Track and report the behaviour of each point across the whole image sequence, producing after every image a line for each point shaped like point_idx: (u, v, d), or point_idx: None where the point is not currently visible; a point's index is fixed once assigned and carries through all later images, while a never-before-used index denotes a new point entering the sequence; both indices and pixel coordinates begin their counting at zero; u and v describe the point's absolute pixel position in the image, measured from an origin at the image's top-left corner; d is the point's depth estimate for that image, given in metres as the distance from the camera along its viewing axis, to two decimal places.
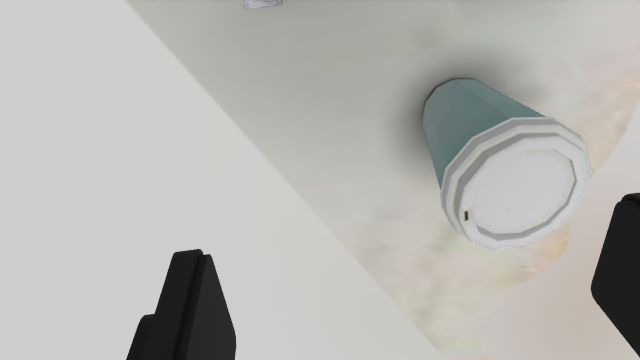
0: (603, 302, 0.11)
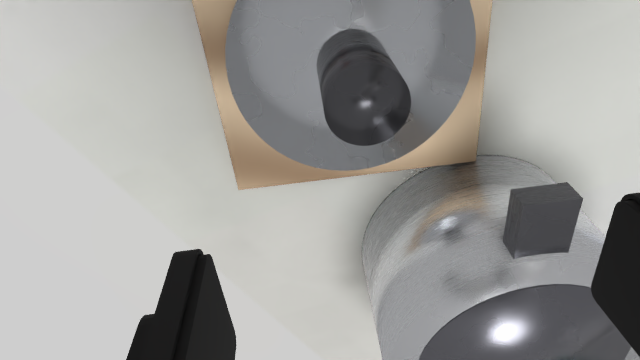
0: (603, 302, 0.11)
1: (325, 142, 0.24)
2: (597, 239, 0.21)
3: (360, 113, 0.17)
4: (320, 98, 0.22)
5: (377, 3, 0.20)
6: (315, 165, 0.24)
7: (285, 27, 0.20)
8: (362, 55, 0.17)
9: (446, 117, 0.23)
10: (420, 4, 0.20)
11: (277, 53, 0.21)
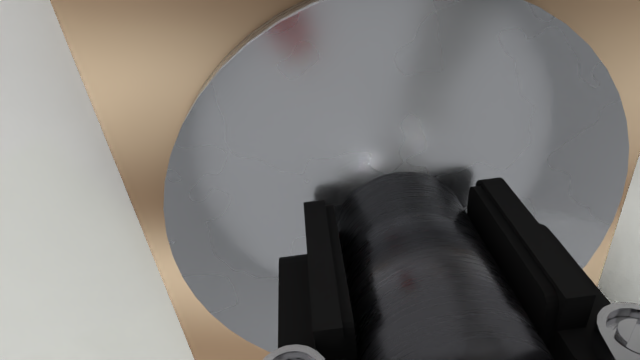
0: None
1: None
2: None
3: None
4: None
5: (452, 129, 0.10)
6: None
7: (276, 173, 0.11)
8: (448, 288, 0.08)
9: None
10: (533, 129, 0.11)
11: (262, 214, 0.11)
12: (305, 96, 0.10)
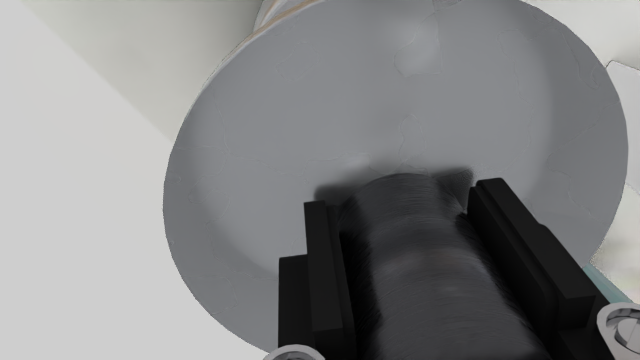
0: None
1: None
2: None
3: None
4: None
5: (451, 130, 0.10)
6: None
7: (275, 174, 0.11)
8: (447, 290, 0.08)
9: None
10: (533, 130, 0.11)
11: (261, 215, 0.11)
12: (304, 97, 0.10)
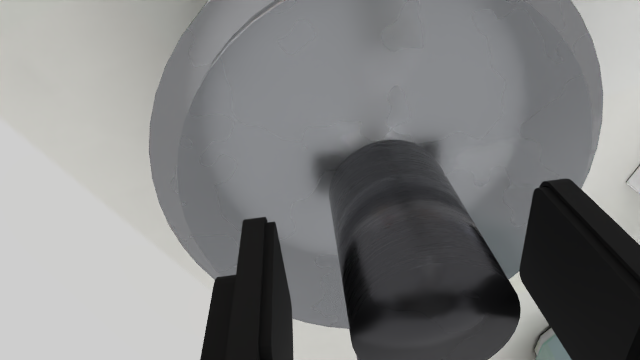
0: (528, 283, 0.11)
1: (341, 294, 0.15)
2: None
3: (420, 337, 0.09)
4: (335, 238, 0.14)
5: (433, 100, 0.12)
6: (326, 323, 0.16)
7: (277, 140, 0.12)
8: (424, 227, 0.09)
9: None
10: (506, 101, 0.12)
11: (264, 178, 0.13)
12: (303, 69, 0.11)
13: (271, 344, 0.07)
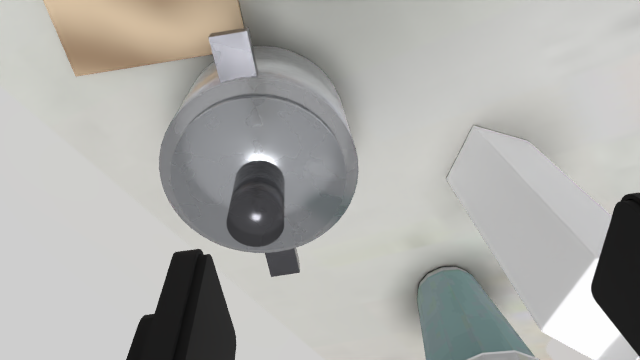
0: (603, 302, 0.11)
1: None
2: (295, 78, 0.30)
3: (251, 228, 0.27)
4: None
5: (271, 144, 0.29)
6: (244, 247, 0.33)
7: (210, 161, 0.30)
8: (251, 190, 0.27)
9: (334, 211, 0.32)
10: (301, 143, 0.29)
11: (206, 177, 0.30)
12: (217, 134, 0.29)
13: None
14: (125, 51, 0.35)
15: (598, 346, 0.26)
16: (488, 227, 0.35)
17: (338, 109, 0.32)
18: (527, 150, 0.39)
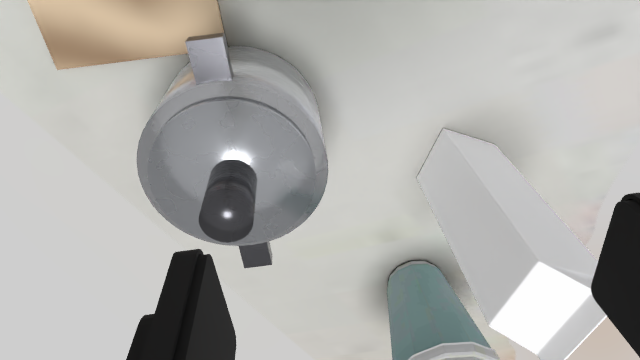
0: (603, 302, 0.11)
1: None
2: (269, 81, 0.32)
3: (222, 224, 0.28)
4: None
5: (244, 144, 0.31)
6: (218, 240, 0.35)
7: (186, 159, 0.31)
8: (222, 189, 0.28)
9: (304, 209, 0.34)
10: (273, 144, 0.31)
11: (182, 174, 0.32)
12: (192, 134, 0.30)
13: None
14: (106, 47, 0.36)
15: (538, 341, 0.28)
16: (450, 226, 0.37)
17: (310, 112, 0.33)
18: (492, 154, 0.41)
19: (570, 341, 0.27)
